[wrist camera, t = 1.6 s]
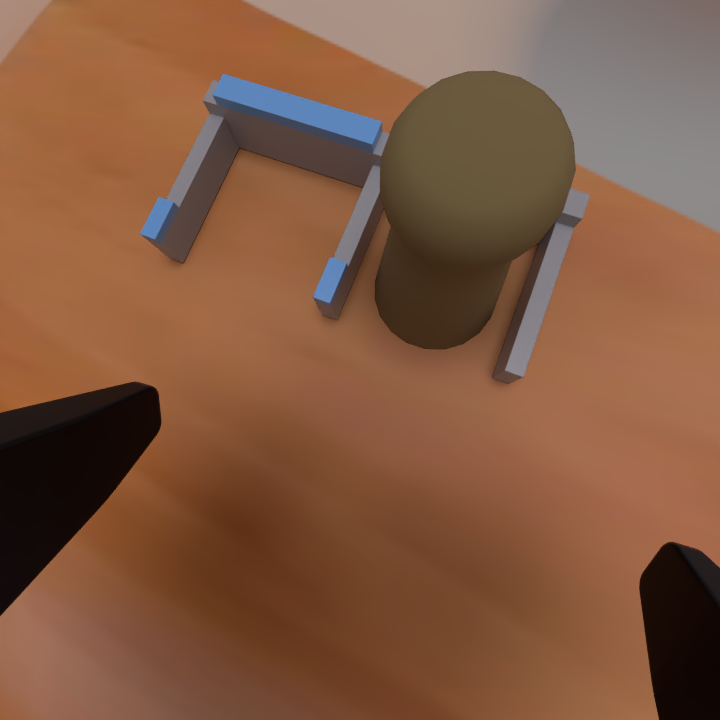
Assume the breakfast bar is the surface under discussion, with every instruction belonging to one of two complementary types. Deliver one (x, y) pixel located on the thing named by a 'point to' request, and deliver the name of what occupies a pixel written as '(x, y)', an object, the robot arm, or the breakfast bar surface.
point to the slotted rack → (340, 161)
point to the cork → (466, 200)
